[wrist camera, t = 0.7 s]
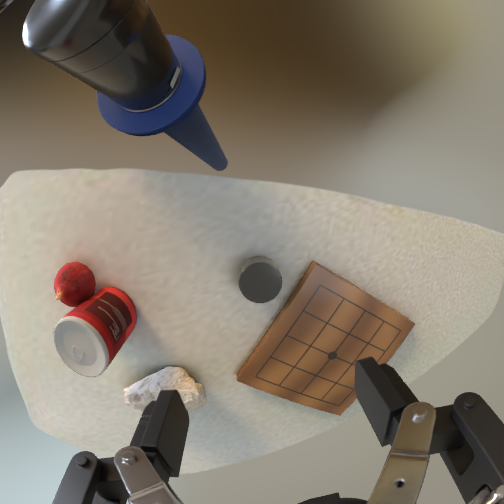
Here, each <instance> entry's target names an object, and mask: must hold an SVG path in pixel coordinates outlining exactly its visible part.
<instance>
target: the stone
mask: <svg viewBox="0 0 504 504" xmlns="http://www.w3.org/2000/svg"><path fill="white" fill-rule="evenodd" d="M188 375H189V374H188V373H187V372H186V371H185V370H184V369H183V368H181V367H171V366H169V367H165V368H164V369H162V370H160V371H158V372H156V373H154V374H152V375H149V376H147V377H145V378H144V379H142V380H140V381H138V382H136V383H134V384H133V385H131V386H130V387H128V388H125V389H124V392H123V395H124V397H125V404H126V405H128V406H131V407H133V408H134V409H137V410H141V411H144V409H145V407H146V406H147V405H148V404H149V403H150V402H151V401H156V400H157V397H158V395H159V392H160V391H161V390H175V389H176V390H178V392H179V394H180V396H181V398H182V400H183V403H184V405H185V407H186V409H187V410H190V409H196V408H198V407H202V406H205V405H206V403H207V399H206V395H205V394H206V393H205V390H204V387H203V385H202V384H199V383H195V380H194V378H191V377H189V376H188Z"/></svg>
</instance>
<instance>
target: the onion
mask: <svg viewBox="0 0 504 504" xmlns="http://www.w3.org/2000/svg"><path fill="white" fill-rule="evenodd" d="M95 286H96V283H95V278H94V275H93V273H92V271H91V270H90V269H89V268H88V267H87V266H86V265H84V264H82V263H79V262H72V263H67V264H66V265H64V266H63V267H62V268H61V269H60V270H59V271H58V273H57V275H56V278H55V281H54V289H55V293H56V295H55V298H56V299H57V300H58V299H59V300H60V301H61V302H62V303H64V304H66V305H68V306H70V307H77V306H78V305H79V304H81V303H82V302H83V301H85V300H87V299H88V298H90V297H91V296H92V295H94V292H95Z"/></svg>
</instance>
